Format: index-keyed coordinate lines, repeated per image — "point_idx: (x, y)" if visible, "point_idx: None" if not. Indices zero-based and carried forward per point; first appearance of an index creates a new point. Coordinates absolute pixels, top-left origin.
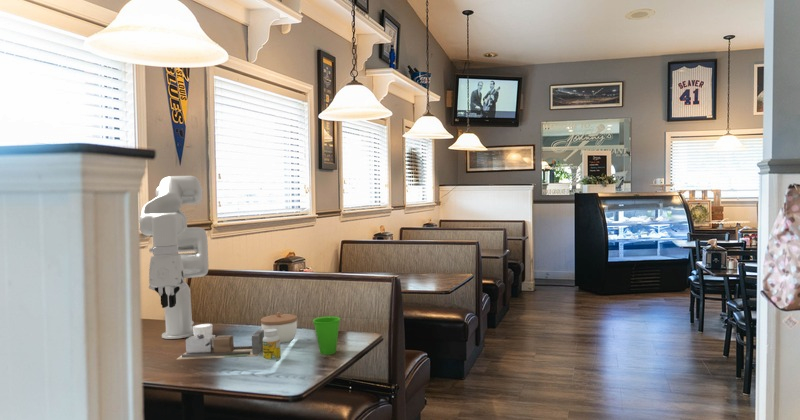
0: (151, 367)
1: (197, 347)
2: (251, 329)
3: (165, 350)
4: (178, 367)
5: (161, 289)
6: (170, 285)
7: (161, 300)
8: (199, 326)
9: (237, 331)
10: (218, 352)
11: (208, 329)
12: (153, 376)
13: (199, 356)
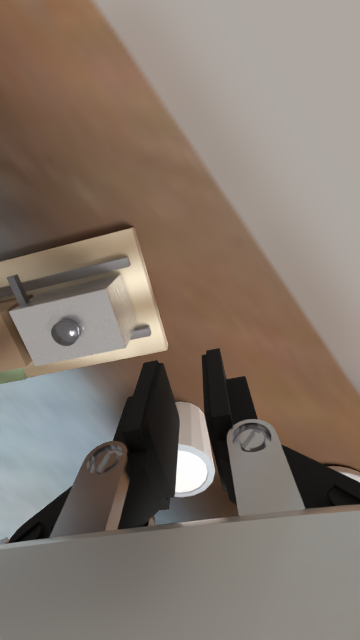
0: (193, 163)
1: (72, 289)
2: None
3: (273, 361)
4: (87, 176)
5: (246, 496)
6: (7, 545)
7: (243, 398)
8: (184, 463)
9: None
10: (13, 300)
11: None
12: (101, 40)
13: (68, 270)
